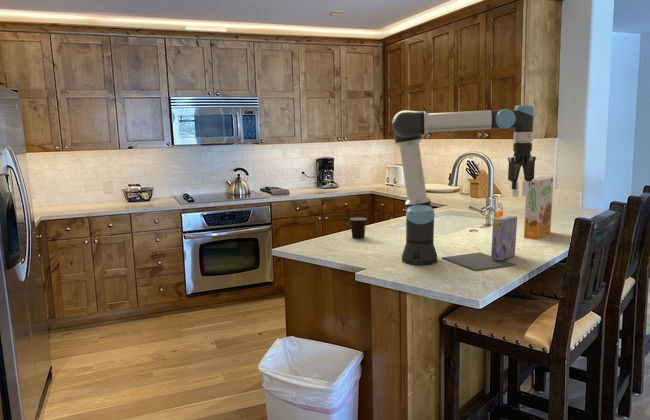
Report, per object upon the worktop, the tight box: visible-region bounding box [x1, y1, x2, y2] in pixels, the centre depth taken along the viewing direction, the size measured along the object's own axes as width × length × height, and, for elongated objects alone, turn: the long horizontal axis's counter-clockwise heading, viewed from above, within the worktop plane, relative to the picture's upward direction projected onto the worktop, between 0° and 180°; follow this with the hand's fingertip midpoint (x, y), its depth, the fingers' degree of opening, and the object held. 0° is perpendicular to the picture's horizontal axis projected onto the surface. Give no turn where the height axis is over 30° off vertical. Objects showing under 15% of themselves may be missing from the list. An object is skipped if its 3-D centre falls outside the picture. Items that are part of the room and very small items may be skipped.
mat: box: [441, 251, 516, 272], centre depth 213 cm, size 20×22×1 cm
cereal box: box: [523, 175, 554, 240], centre depth 262 cm, size 22×6×30 cm, turn 139°
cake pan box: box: [490, 215, 518, 261], centre depth 217 cm, size 19×5×18 cm, turn 141°
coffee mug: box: [349, 217, 367, 240], centre depth 265 cm, size 12×9×10 cm
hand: (520, 196), depth 217 cm, fingers open, 5 cm apart
